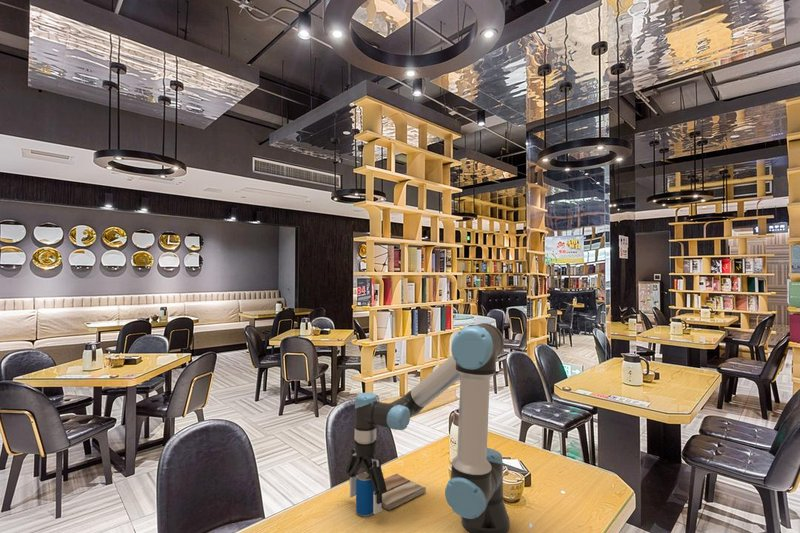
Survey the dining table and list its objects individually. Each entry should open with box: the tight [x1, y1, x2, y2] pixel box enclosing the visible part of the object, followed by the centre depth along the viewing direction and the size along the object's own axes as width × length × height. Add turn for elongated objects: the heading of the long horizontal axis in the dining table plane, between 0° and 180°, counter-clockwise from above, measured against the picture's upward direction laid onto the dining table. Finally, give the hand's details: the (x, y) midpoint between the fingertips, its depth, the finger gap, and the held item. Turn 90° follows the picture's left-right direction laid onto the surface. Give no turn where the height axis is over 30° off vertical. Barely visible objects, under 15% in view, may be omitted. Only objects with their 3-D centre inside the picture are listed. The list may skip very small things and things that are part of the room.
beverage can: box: [355, 471, 375, 518], centre depth 133 cm, size 6×6×12 cm
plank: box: [381, 480, 427, 511], centre depth 142 cm, size 8×18×2 cm, turn 132°
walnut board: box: [382, 473, 411, 494], centre depth 148 cm, size 8×18×2 cm, turn 132°
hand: (365, 503), depth 133 cm, fingers open, 13 cm apart
